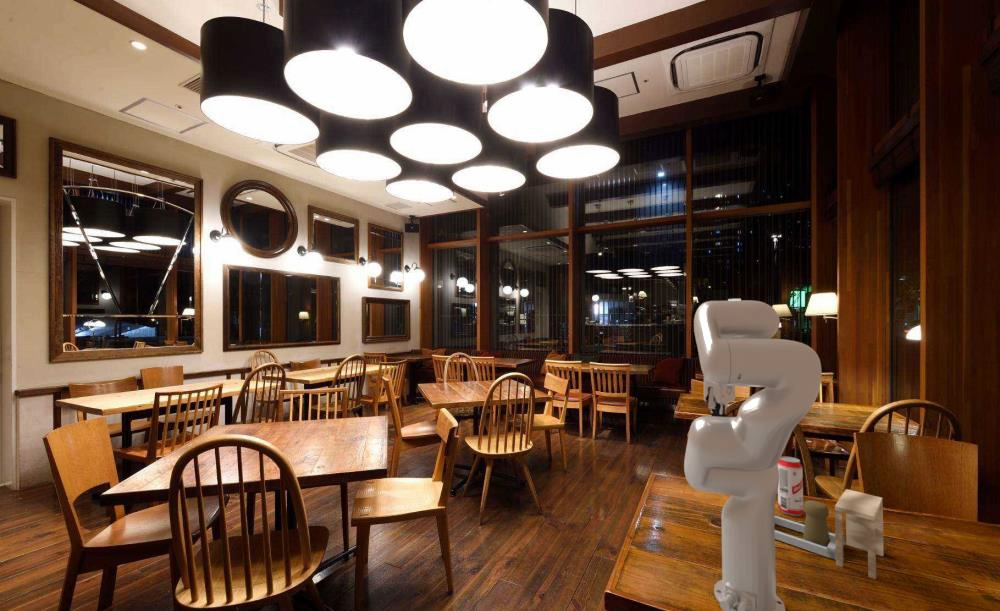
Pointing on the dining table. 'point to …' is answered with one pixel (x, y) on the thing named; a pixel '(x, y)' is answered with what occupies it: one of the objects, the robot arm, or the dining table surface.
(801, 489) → the beer can
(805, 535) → the cork
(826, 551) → the sled
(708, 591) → the dining table surface
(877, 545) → the stool
